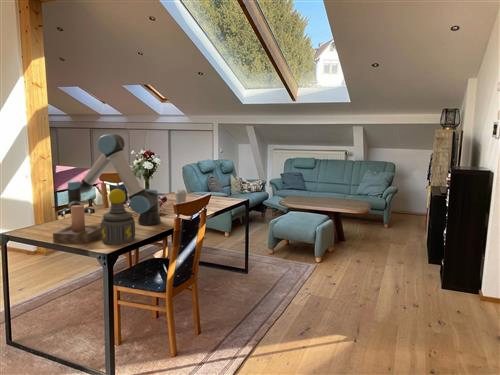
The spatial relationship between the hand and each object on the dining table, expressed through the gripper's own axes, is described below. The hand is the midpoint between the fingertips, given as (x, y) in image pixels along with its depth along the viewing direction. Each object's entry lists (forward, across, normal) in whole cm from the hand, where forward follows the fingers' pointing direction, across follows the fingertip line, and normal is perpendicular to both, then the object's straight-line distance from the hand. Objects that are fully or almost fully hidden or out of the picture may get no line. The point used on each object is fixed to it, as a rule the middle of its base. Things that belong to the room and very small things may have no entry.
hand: (77, 214), depth 219 cm
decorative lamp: (+14, -21, -14) cm, 29 cm away
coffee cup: (-58, -79, -14) cm, 99 cm away
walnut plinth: (+2, 0, -14) cm, 14 cm away
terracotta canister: (+1, 0, -8) cm, 9 cm away
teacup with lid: (-48, -54, -14) cm, 73 cm away
